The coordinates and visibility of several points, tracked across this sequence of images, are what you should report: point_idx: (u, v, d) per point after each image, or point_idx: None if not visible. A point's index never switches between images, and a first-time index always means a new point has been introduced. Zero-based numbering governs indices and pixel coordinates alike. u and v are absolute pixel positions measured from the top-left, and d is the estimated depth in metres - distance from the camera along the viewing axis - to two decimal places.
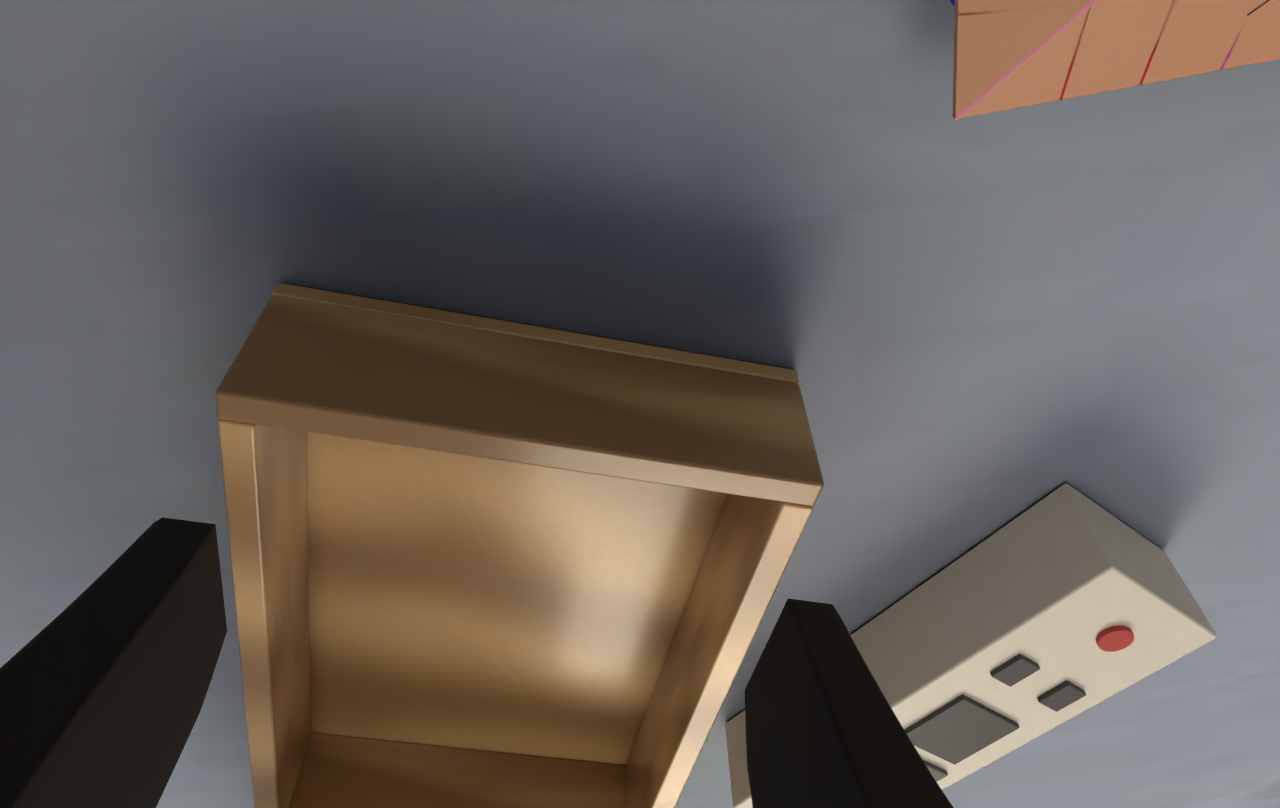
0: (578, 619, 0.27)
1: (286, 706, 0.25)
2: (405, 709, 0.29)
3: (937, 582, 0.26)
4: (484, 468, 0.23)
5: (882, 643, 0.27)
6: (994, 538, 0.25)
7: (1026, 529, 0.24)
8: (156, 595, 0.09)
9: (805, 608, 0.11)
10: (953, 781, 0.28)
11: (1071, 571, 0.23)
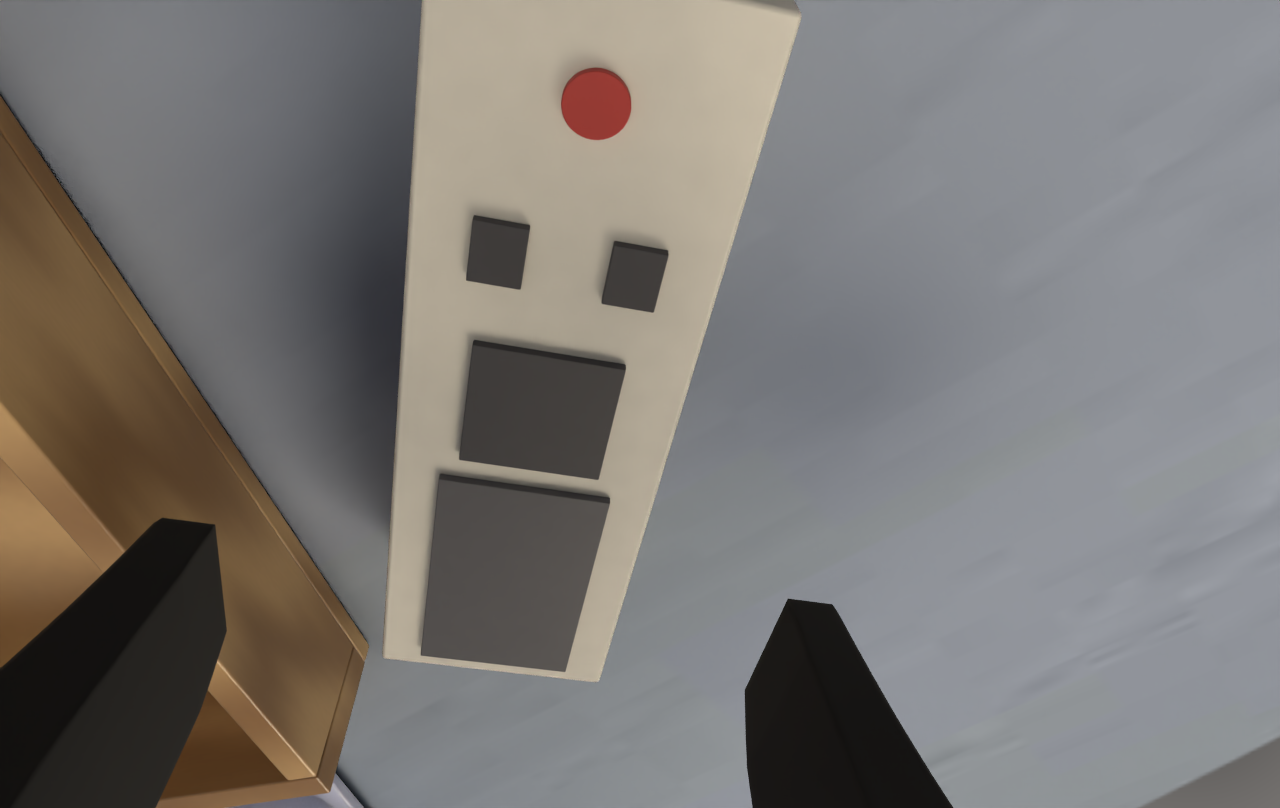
0: None
1: None
2: (7, 650, 0.22)
3: None
4: None
5: None
6: None
7: None
8: (156, 595, 0.09)
9: (805, 609, 0.11)
10: (641, 514, 0.16)
11: None
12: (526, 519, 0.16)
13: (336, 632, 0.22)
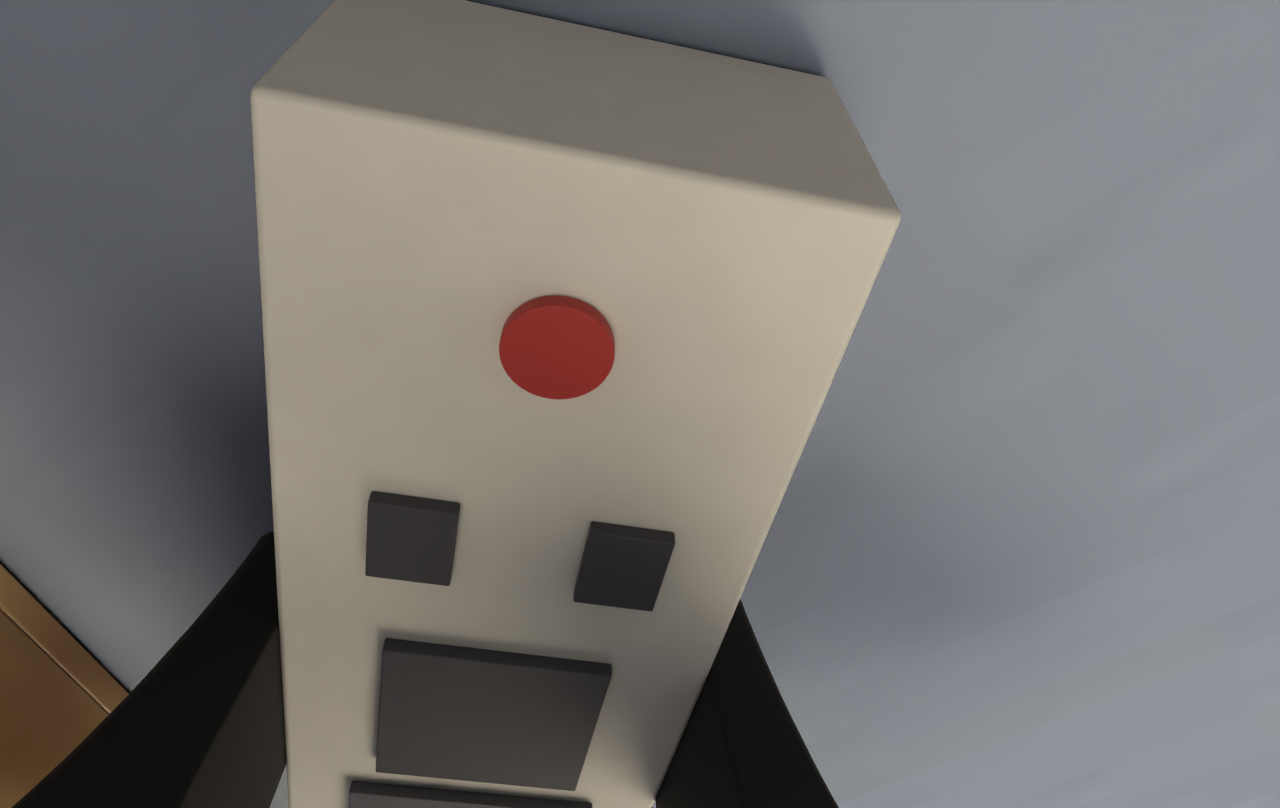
0: None
1: None
2: None
3: None
4: None
5: None
6: None
7: None
8: None
9: None
10: None
11: None
12: None
13: None
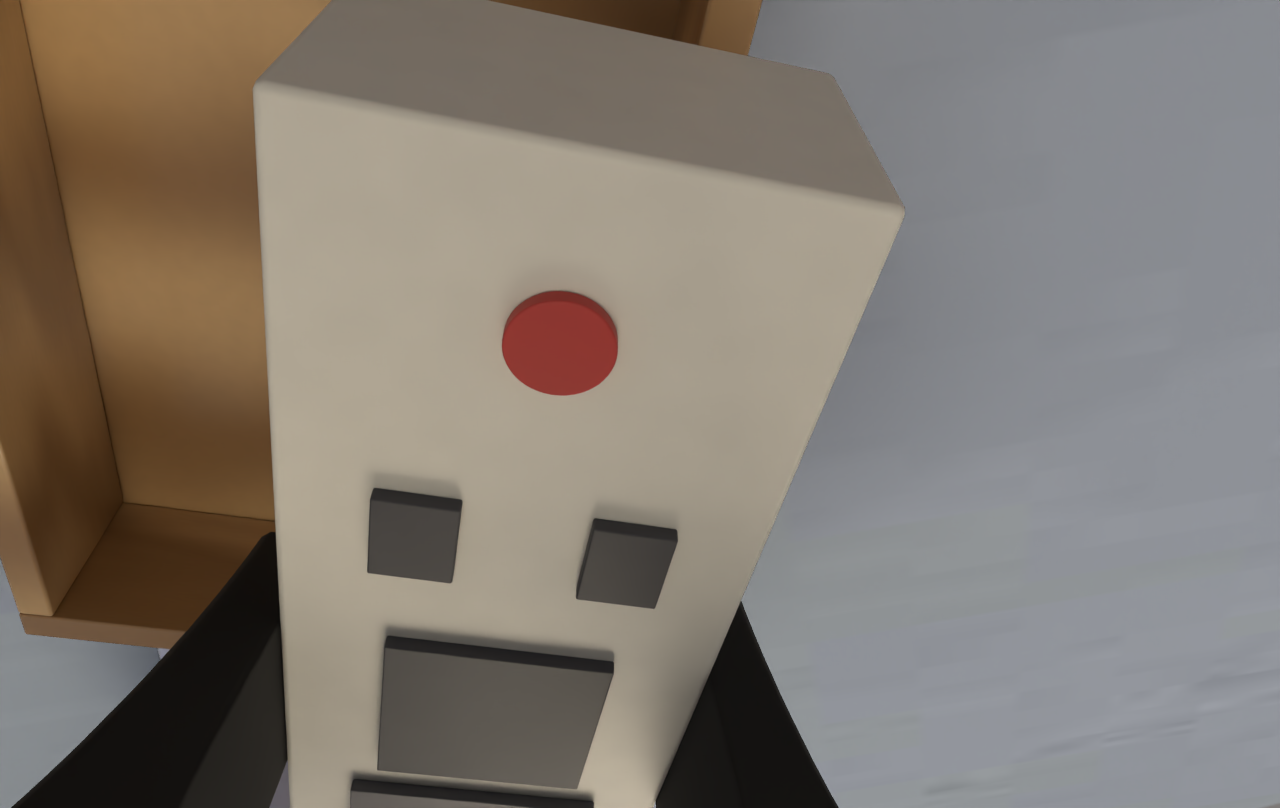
0: None
1: (27, 393, 0.17)
2: (247, 461, 0.21)
3: None
4: None
5: None
6: None
7: None
8: (278, 610, 0.09)
9: None
10: None
11: None
12: None
13: None
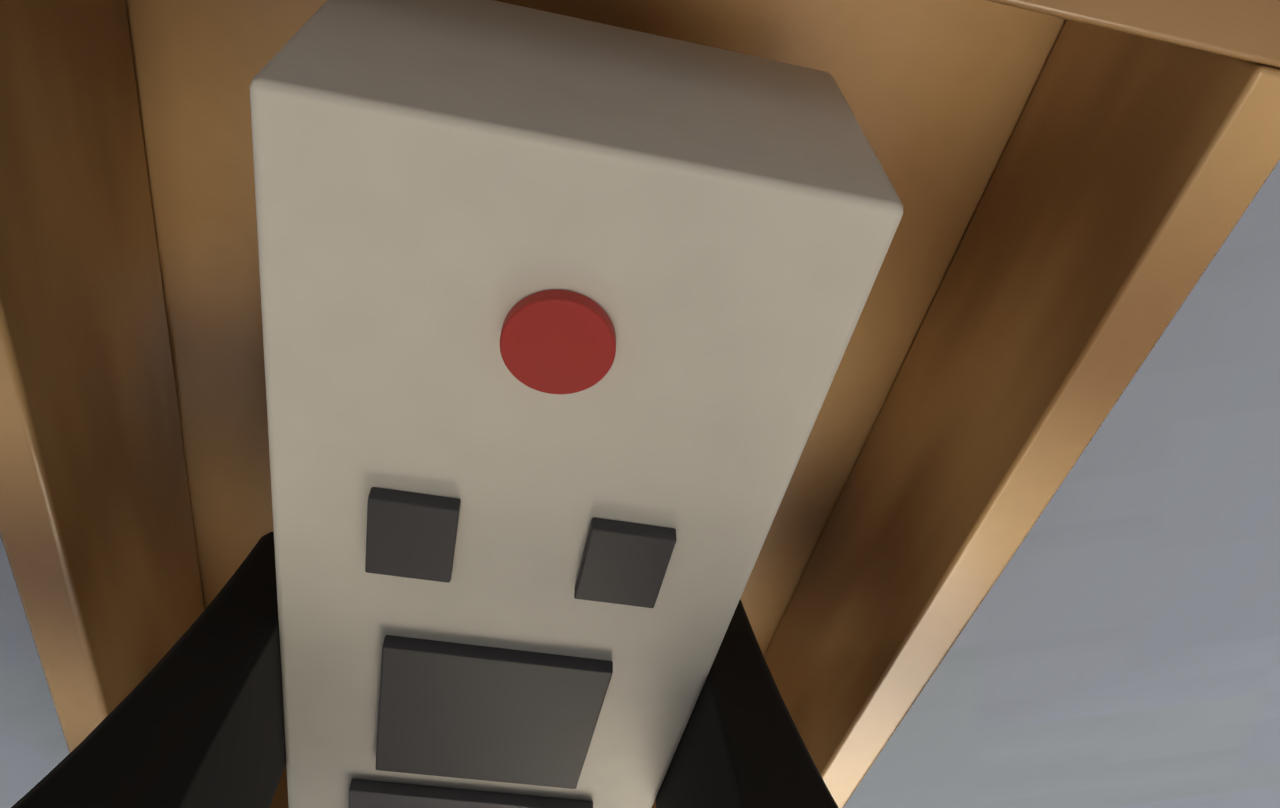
0: None
1: (135, 640, 0.14)
2: None
3: None
4: None
5: None
6: None
7: None
8: None
9: None
10: None
11: None
12: None
13: None
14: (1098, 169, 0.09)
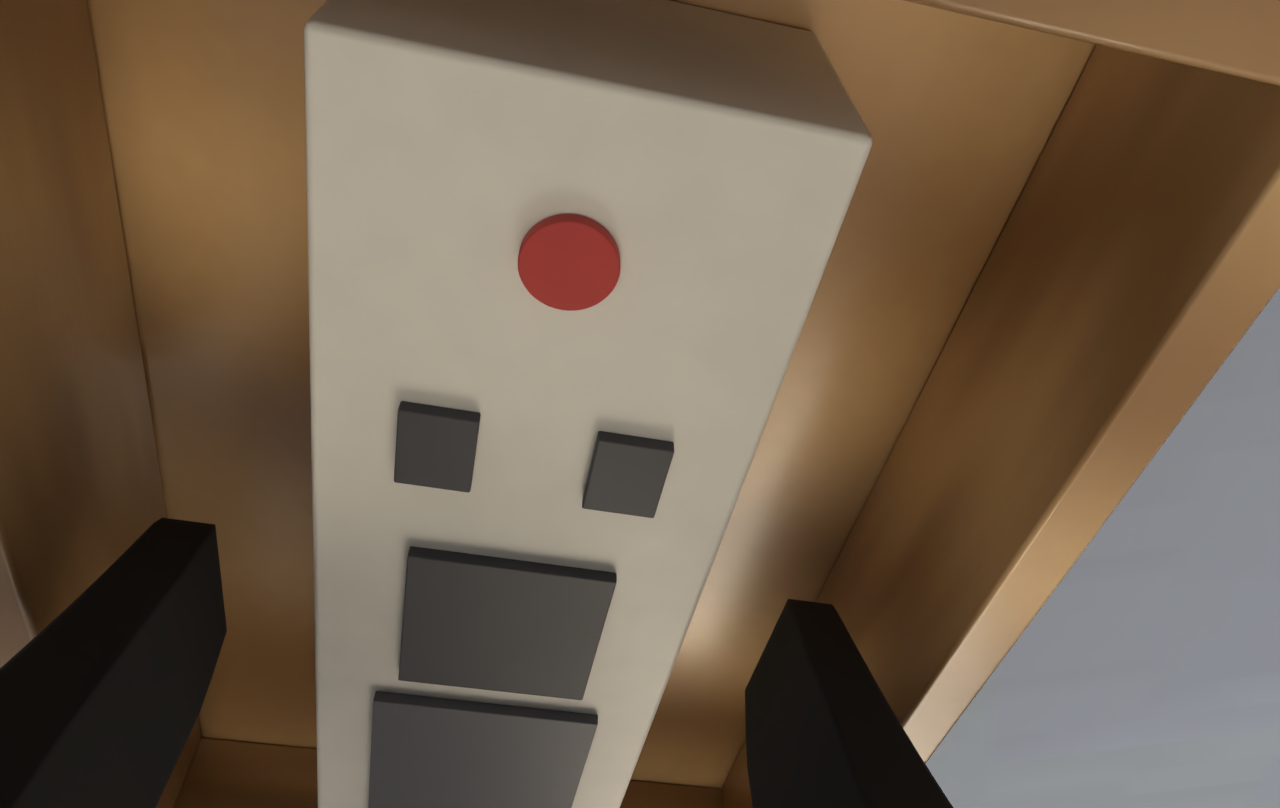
0: None
1: None
2: None
3: None
4: None
5: None
6: None
7: None
8: (156, 595, 0.09)
9: (805, 609, 0.11)
10: (639, 731, 0.13)
11: None
12: (490, 741, 0.13)
13: None
14: (1137, 203, 0.09)
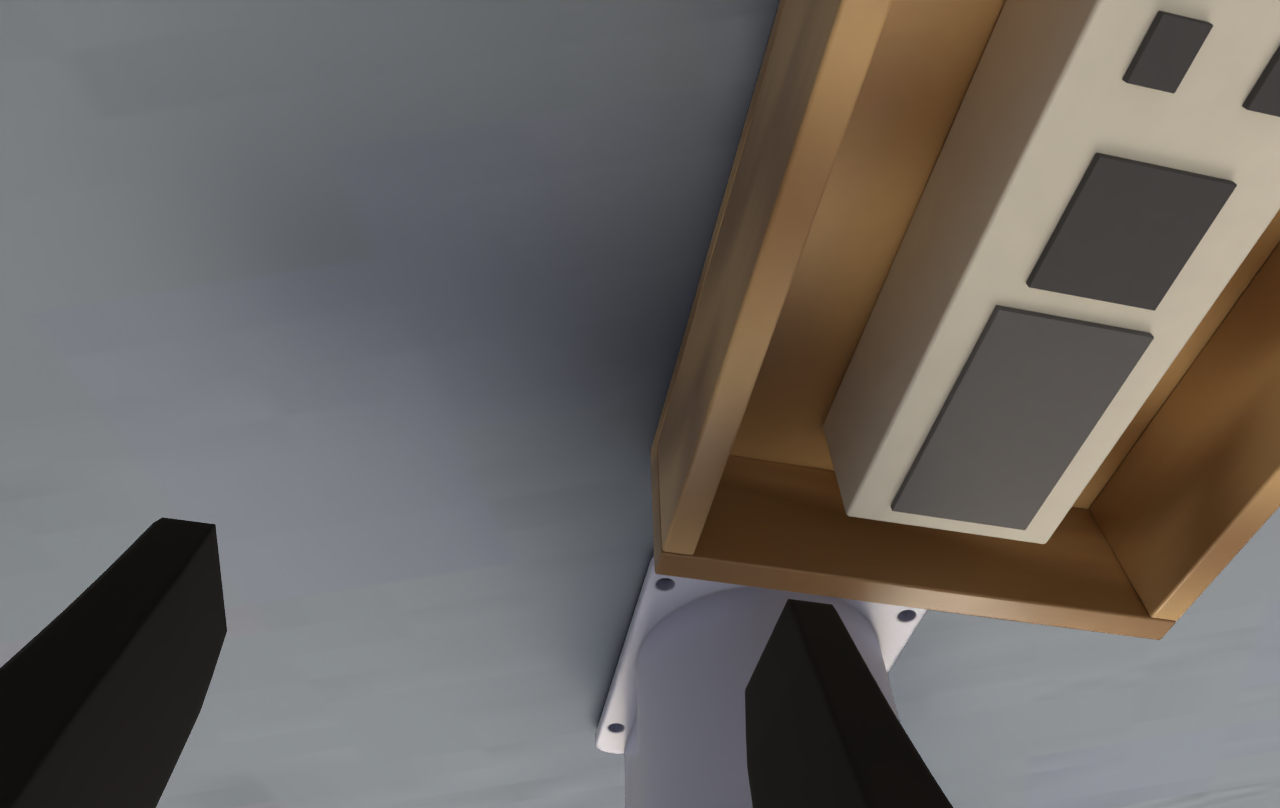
0: None
1: None
2: (828, 405, 0.21)
3: (1003, 20, 0.15)
4: None
5: (956, 166, 0.16)
6: None
7: None
8: (156, 595, 0.09)
9: (804, 608, 0.11)
10: (1173, 351, 0.17)
11: None
12: (1065, 355, 0.16)
13: None
14: None
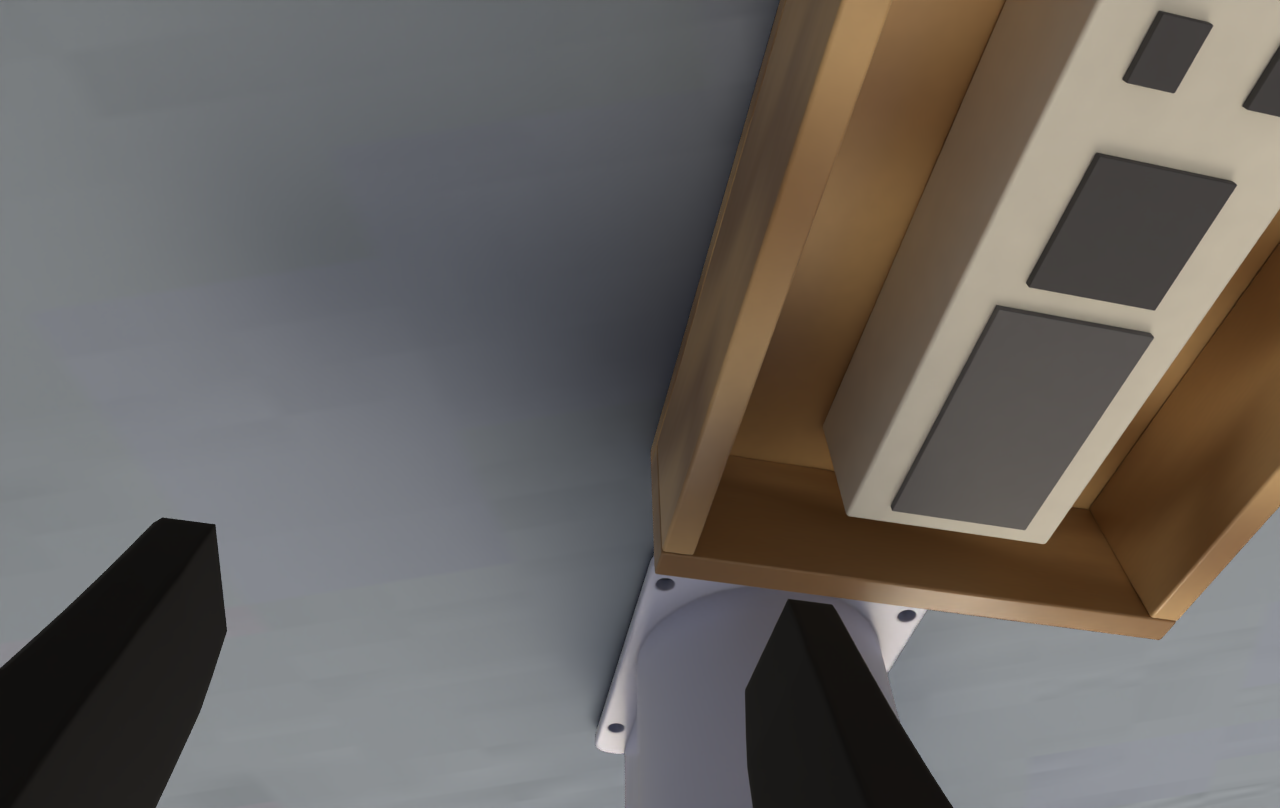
0: None
1: None
2: (828, 405, 0.21)
3: (1003, 20, 0.15)
4: None
5: (956, 166, 0.16)
6: None
7: None
8: (156, 595, 0.09)
9: (804, 608, 0.11)
10: (1173, 351, 0.17)
11: None
12: (1065, 355, 0.16)
13: None
14: None
